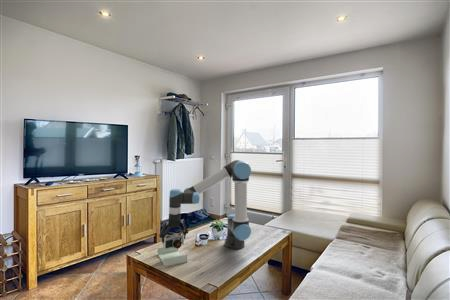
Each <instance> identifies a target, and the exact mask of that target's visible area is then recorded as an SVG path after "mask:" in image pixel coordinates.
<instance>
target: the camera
mask: <svg viewBox="0 0 450 300" xmlns="http://www.w3.org/2000/svg"><path fill="white" fill-rule="evenodd" d="M165 238H166V243H165V249H168V248H177V249H178V250H179V249H180V248H181V247H182V246H183V245H182V243H181V242H182V233H178V234H177V233H176V232H174V233H172V235H166V236H165Z"/></svg>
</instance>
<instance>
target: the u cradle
mask: <svg viewBox="0 0 450 300" xmlns="http://www.w3.org/2000/svg"><path fill="white" fill-rule="evenodd" d="M157 256H158V258H159V259H160V261H161V263H162V264H163V266H164V267H165V268H167V267H168V268H169V267H172V266H177V265H180V264H181V265H182V264H185V263H188V253H183V254H182V253H181V252H180V251H179V248H178V249H177V248H168V249H165V248H163V246H158V247H157Z"/></svg>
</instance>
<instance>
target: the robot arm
mask: <svg viewBox="0 0 450 300" xmlns="http://www.w3.org/2000/svg"><path fill="white" fill-rule="evenodd" d="M251 174H252V167H251V166H250V164H249V163H248V162H246V161H243V160H237V159H236V160H232V161H231V162H229V163H227V164H226V165H224V166H223V167H222V169H220V170H218V171H217V172H215V173H213V174H211V175H210V176H208V177H206V178H204V179H203V180H201V181H200V182H197V183H196V184H194V185H192V186H190V187H187V188H184V190H183V192H182V190H181V189H179V188H172V189H170V191H169V197H168V198H169V199H168V202H169V204H168V220H167V221H163V225H162V227H161V229H160V232H159V234H158V236H159V239H160V238H161V243H162V247H163V248H165V243H166V238H165V237H167V236H168V233H169V232H170V230H171V229H174V228H178V229H179V230H180V231H181V235H182V239H181V243H182V245H181V246H184V245H185V240H186V235H187V234H189V230H188V228H187V227H188V226H187V225H186V220H185V219H184V218H182V219H181V209H182V205H197V204H199V203H200V194H202V193H205V191H207V190H209V189H211V188H213V187H214V186H216V185H218V184H219V183H222V182H223V181H225V180H227V179H232V182H233V185H234V187H233V188H234V213H233V214H229V215H228V216H227V222H226V223H227V227H226V229H227V230H226V238H225V240H224V247H226V248H227V249H231V250H240V249H243V248H245V241H246V240H247V239H249V238H250V236H251V233H252V229H251V227H250V218H249V217H248V215H247V214H248V209H247V208H248V200H247V199H248V197H247V196H248V194H247V193H248V187H247V186H248V182H249V180H250V176H251ZM180 224H182V225H183V226H182V227H183V228H182V227H181V225H180Z"/></svg>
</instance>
